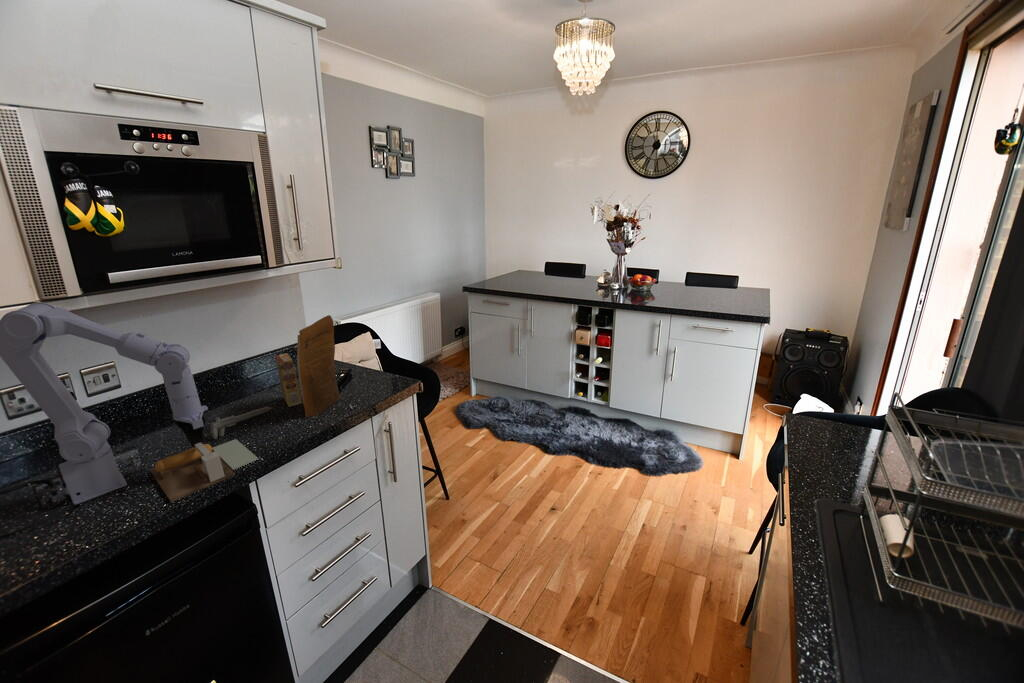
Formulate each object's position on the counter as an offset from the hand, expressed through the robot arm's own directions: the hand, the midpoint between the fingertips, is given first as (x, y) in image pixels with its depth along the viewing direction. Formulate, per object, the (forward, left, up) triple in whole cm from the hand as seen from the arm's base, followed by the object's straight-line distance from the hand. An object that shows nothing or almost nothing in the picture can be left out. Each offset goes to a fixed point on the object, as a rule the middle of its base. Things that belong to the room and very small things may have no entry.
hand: (197, 445), depth 115 cm
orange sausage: (-3, +1, -4) cm, 5 cm away
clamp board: (-3, -2, -6) cm, 7 cm away
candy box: (+31, +20, -6) cm, 38 cm away
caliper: (+15, +16, -6) cm, 23 cm away
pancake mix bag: (+36, +7, -6) cm, 38 cm away
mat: (+7, -1, -6) cm, 9 cm away
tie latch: (0, -6, -5) cm, 8 cm away
